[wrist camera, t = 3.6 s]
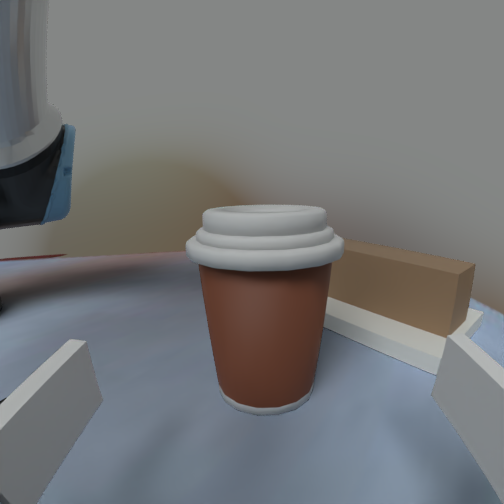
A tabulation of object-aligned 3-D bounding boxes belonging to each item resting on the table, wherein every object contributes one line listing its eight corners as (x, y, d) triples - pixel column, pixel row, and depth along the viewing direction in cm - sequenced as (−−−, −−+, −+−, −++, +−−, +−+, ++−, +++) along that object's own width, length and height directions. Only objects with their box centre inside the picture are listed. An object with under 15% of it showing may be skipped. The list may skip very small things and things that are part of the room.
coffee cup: (354, 412, 17) (377, 213, 15) (204, 438, 15) (181, 220, 13) (306, 347, 26) (310, 202, 23) (197, 359, 24) (185, 206, 22)
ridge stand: (256, 295, 39) (254, 238, 38) (324, 277, 45) (325, 229, 44) (436, 375, 19) (455, 287, 18) (480, 325, 26) (492, 259, 24)
